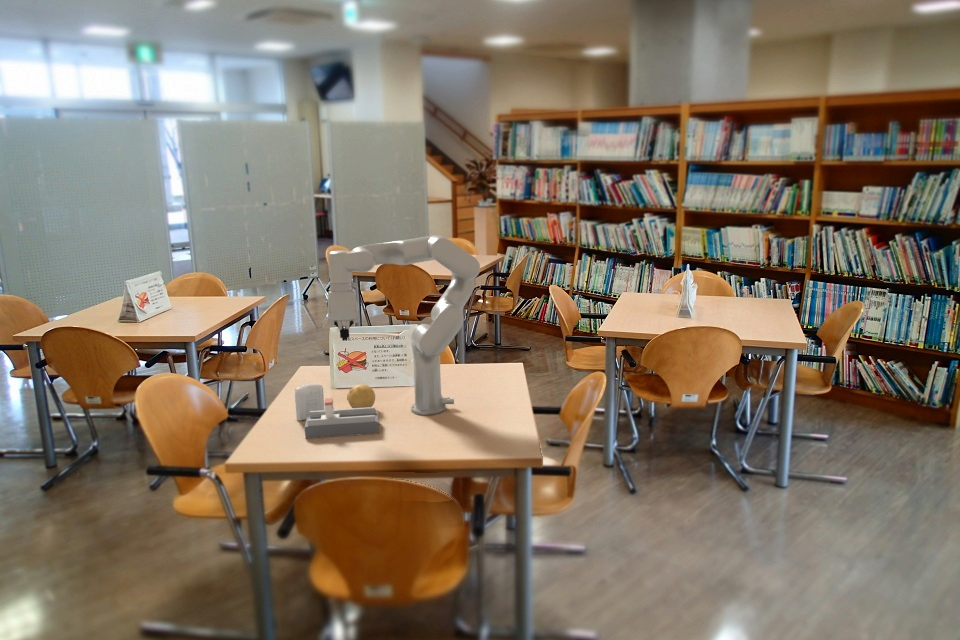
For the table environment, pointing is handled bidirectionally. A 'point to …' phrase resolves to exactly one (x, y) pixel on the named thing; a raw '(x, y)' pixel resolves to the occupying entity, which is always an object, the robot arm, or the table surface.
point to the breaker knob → (329, 409)
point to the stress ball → (361, 396)
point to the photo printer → (308, 400)
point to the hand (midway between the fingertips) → (345, 339)
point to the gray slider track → (342, 423)
